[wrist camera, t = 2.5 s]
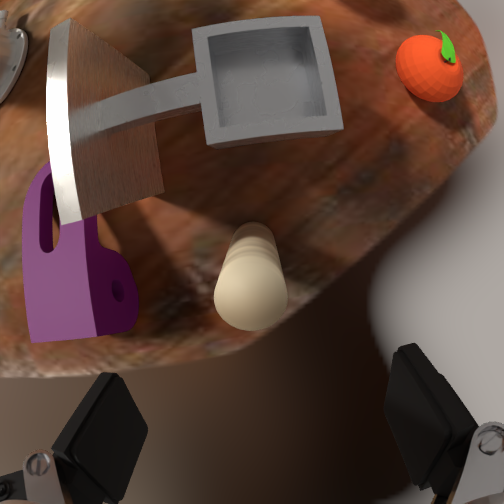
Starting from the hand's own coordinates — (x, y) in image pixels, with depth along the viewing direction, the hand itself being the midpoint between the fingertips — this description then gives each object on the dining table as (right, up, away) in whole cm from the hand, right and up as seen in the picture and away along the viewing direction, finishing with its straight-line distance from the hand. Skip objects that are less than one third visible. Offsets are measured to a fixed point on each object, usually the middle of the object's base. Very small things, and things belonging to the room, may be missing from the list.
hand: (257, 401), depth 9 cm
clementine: (+16, +24, +13) cm, 32 cm away
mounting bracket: (-18, +6, +19) cm, 27 cm away
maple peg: (0, +6, +18) cm, 19 cm away
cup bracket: (-3, +17, +15) cm, 23 cm away
